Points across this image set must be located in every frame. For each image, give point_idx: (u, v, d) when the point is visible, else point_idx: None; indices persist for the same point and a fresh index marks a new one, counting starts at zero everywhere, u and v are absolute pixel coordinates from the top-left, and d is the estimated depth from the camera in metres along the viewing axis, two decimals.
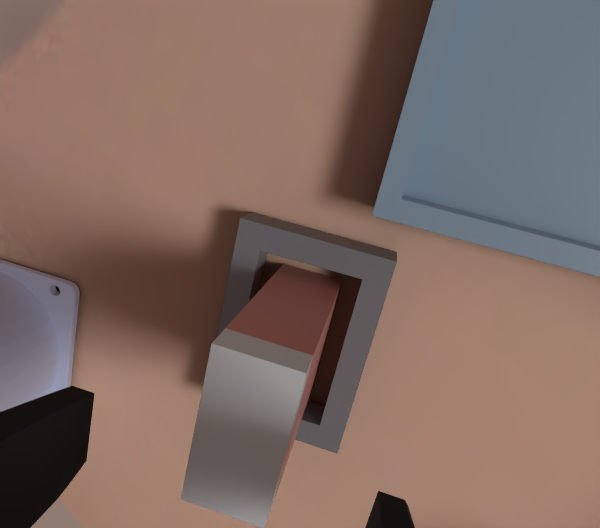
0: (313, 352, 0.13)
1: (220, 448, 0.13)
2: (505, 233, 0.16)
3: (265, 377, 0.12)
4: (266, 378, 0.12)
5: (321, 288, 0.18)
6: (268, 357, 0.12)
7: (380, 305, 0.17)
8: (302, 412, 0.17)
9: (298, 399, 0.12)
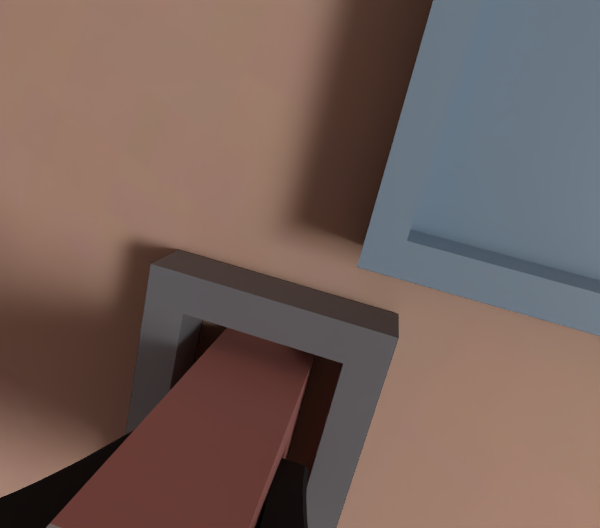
0: None
1: None
2: (586, 301, 0.09)
3: None
4: None
5: (278, 376, 0.11)
6: None
7: (372, 404, 0.11)
8: None
9: None
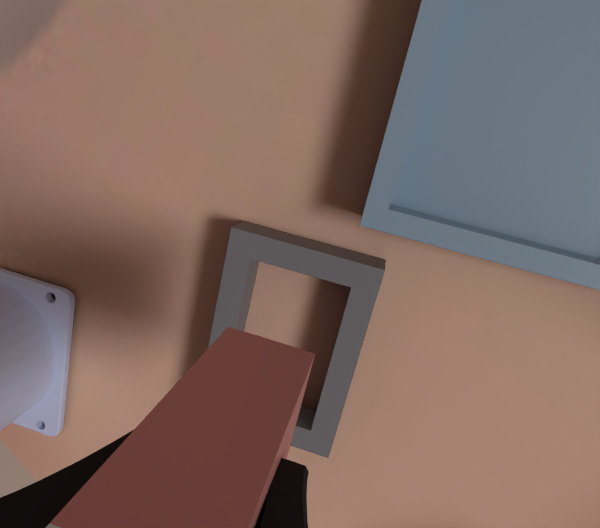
0: None
1: None
2: (490, 242, 0.16)
3: None
4: None
5: (278, 375, 0.11)
6: None
7: (369, 312, 0.18)
8: None
9: None
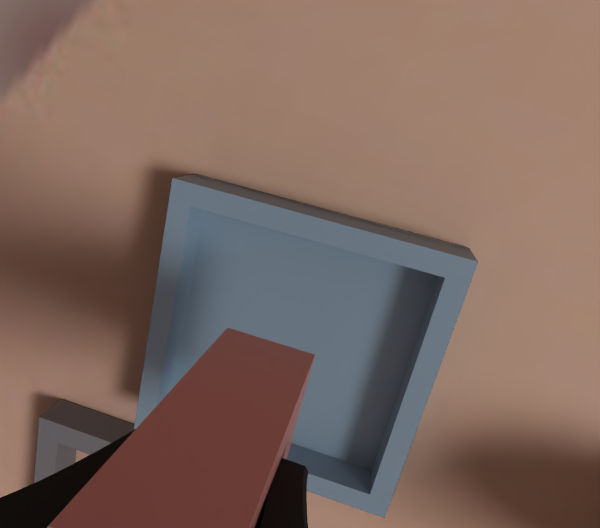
0: None
1: None
2: None
3: None
4: None
5: (278, 377, 0.11)
6: None
7: None
8: None
9: None
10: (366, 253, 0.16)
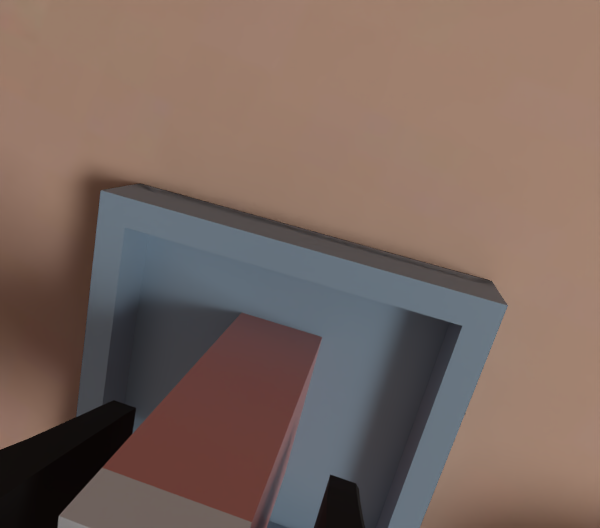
0: (254, 512, 0.07)
1: None
2: None
3: None
4: None
5: (289, 355, 0.12)
6: None
7: None
8: None
9: None
10: (356, 292, 0.12)
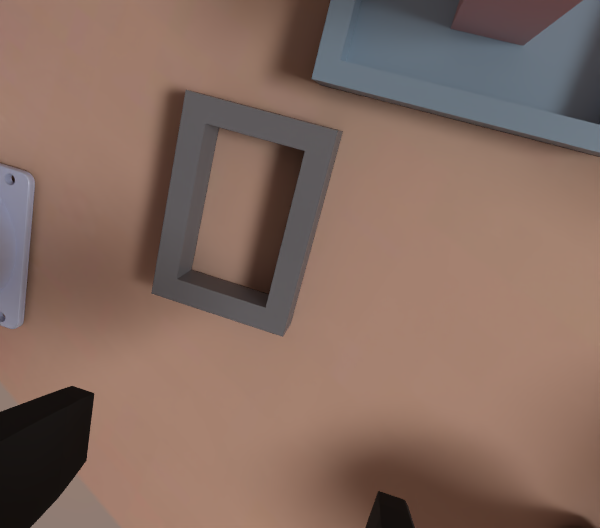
0: None
1: None
2: (440, 92, 0.16)
3: None
4: None
5: None
6: None
7: (322, 177, 0.18)
8: None
9: None
10: None
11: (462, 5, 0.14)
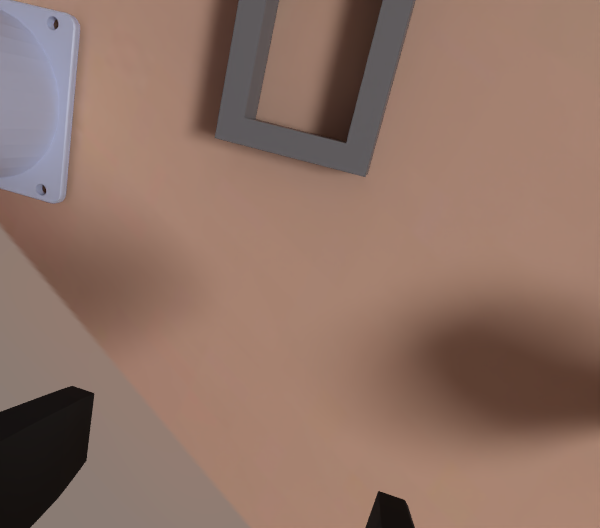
0: None
1: None
2: None
3: None
4: None
5: None
6: None
7: None
8: None
9: None
10: None
11: None
